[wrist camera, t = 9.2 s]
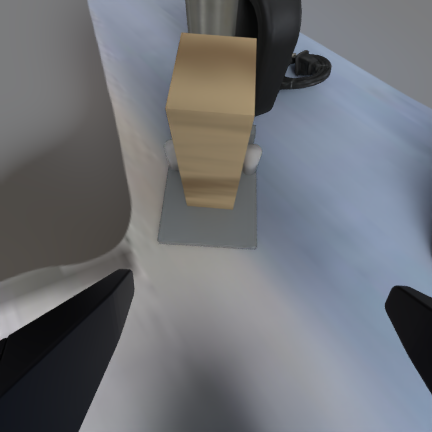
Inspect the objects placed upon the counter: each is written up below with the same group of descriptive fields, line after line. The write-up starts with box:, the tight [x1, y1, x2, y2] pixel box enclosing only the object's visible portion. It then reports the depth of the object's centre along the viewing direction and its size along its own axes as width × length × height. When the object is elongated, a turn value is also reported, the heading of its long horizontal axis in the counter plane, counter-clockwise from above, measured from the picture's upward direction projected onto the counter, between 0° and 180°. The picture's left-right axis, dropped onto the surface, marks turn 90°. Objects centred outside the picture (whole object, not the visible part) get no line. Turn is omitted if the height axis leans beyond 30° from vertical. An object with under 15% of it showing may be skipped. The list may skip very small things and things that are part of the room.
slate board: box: [158, 125, 262, 249], centre depth 23 cm, size 12×9×4 cm
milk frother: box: [185, 0, 332, 116], centre depth 24 cm, size 14×16×15 cm
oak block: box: [165, 33, 257, 210], centre depth 18 cm, size 6×4×12 cm
